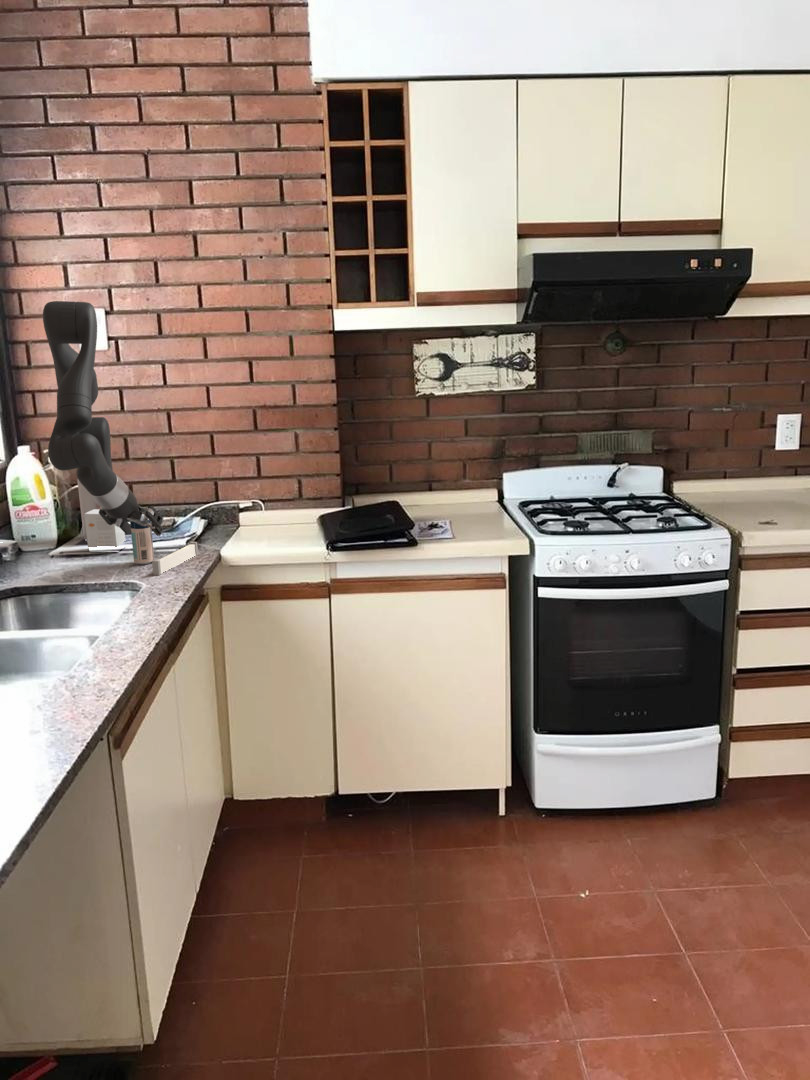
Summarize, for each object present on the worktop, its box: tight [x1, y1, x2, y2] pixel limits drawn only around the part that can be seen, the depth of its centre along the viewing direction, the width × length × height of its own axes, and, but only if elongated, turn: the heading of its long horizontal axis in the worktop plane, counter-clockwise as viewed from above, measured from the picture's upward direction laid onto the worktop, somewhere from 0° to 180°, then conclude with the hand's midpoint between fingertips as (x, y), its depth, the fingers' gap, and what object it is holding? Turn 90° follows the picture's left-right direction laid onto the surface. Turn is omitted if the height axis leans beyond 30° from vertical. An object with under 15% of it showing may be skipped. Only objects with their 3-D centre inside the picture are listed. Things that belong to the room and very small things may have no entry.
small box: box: [84, 509, 127, 548], centre depth 220 cm, size 8×6×10 cm
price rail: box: [151, 541, 199, 576], centre depth 206 cm, size 18×2×3 cm, turn 165°
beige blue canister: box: [129, 514, 155, 566], centre depth 207 cm, size 5×5×12 cm
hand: (144, 531), depth 208 cm, fingers open, 8 cm apart
